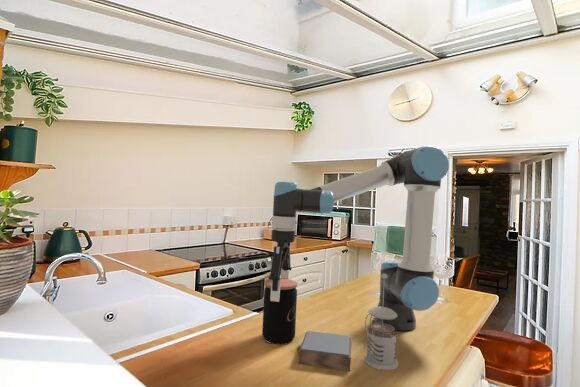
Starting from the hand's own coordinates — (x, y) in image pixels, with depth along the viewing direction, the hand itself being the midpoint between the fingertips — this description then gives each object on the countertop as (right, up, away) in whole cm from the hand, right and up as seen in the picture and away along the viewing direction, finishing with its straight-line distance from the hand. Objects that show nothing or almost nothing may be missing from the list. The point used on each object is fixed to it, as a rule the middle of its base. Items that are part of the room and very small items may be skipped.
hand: (279, 295), depth 109 cm
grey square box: (+14, -14, -11) cm, 23 cm away
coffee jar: (0, -14, 0) cm, 14 cm away
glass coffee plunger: (+29, -15, -12) cm, 35 cm away
